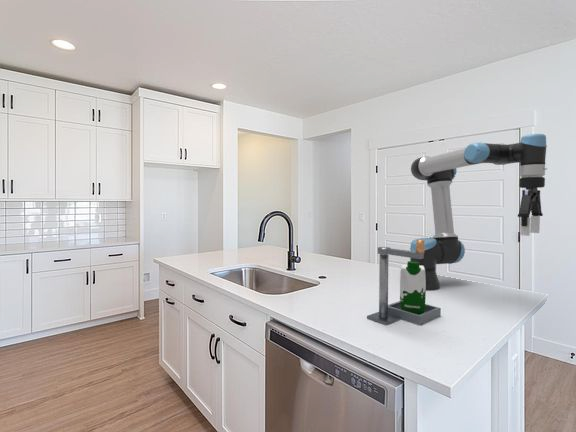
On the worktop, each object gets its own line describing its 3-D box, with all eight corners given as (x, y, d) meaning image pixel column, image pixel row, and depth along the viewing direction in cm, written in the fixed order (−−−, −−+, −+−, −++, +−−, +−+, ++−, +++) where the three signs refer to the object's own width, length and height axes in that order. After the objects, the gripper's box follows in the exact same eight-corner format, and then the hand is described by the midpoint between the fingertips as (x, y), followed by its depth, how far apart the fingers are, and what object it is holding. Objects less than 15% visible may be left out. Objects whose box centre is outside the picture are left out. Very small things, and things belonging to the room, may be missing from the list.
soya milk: (399, 317, 115) (400, 262, 114) (399, 309, 124) (400, 258, 123) (426, 320, 112) (427, 264, 111) (424, 312, 121) (425, 259, 120)
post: (367, 318, 114) (367, 254, 113) (380, 313, 119) (381, 252, 118) (386, 325, 108) (387, 257, 107) (399, 319, 113) (400, 255, 112)
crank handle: (374, 253, 113) (375, 236, 113) (382, 252, 116) (382, 235, 116) (419, 260, 100) (420, 241, 100) (427, 258, 102) (427, 240, 102)
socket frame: (384, 313, 119) (384, 305, 119) (405, 306, 128) (405, 298, 128) (419, 325, 108) (420, 316, 108) (440, 316, 117) (440, 307, 117)
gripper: (535, 174, 108) (533, 237, 109) (552, 177, 124) (550, 232, 125) (509, 175, 113) (507, 235, 115) (529, 178, 130) (527, 231, 131)
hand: (529, 234), depth 120 cm, fingers open, 13 cm apart
